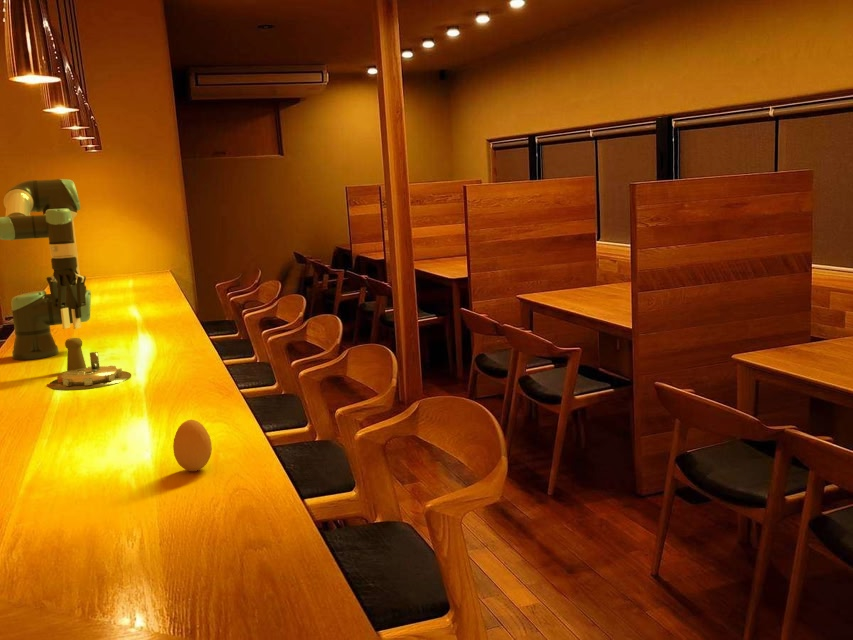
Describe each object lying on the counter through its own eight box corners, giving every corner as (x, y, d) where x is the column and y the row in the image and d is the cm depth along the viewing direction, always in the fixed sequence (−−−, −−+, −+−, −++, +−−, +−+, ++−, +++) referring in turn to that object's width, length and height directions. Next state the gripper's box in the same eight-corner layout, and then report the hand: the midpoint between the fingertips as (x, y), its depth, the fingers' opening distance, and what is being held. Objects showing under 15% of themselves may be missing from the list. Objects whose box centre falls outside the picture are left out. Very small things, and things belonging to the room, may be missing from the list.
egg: (198, 478, 160) (193, 426, 158) (167, 475, 163) (162, 424, 161) (221, 465, 167) (216, 416, 165) (191, 462, 170) (186, 413, 168)
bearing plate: (30, 388, 242) (30, 387, 242) (84, 370, 264) (83, 368, 264) (98, 391, 235) (97, 389, 235) (146, 371, 258) (146, 370, 258)
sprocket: (49, 388, 240) (46, 365, 238) (69, 373, 258) (66, 352, 257) (113, 383, 241) (110, 361, 240) (128, 369, 260) (126, 348, 259)
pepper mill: (90, 369, 265) (87, 337, 263) (74, 373, 260) (70, 340, 258) (79, 368, 268) (75, 336, 266) (63, 372, 263) (59, 339, 261)
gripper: (33, 258, 256) (42, 329, 260) (77, 257, 252) (85, 330, 256) (50, 255, 263) (58, 325, 267) (92, 255, 259) (101, 326, 263)
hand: (72, 327), depth 261 cm, fingers open, 3 cm apart
